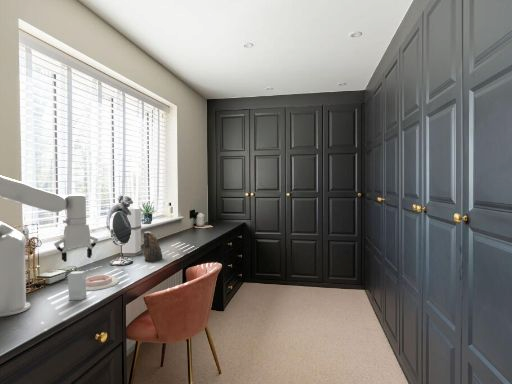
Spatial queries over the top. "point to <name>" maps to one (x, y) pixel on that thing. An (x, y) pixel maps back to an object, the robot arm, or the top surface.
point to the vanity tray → (100, 282)
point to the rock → (151, 248)
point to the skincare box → (77, 285)
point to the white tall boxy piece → (134, 234)
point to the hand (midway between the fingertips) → (77, 259)
